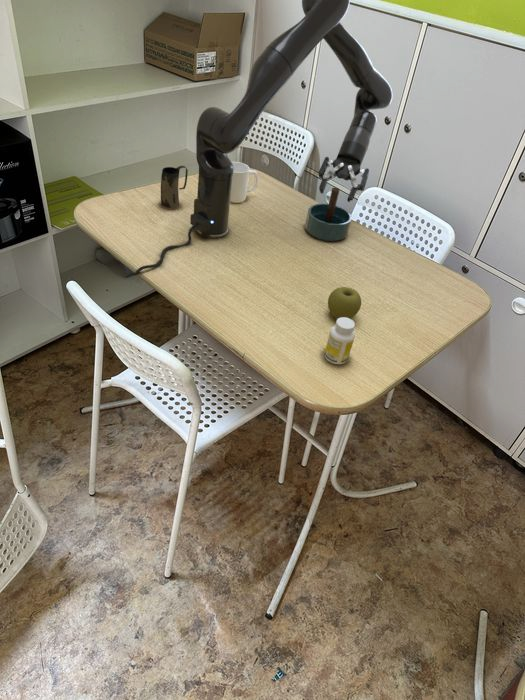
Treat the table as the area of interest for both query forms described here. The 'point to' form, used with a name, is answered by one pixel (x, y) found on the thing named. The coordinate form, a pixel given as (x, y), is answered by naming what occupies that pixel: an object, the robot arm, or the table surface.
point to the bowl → (327, 230)
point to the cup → (241, 182)
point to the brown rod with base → (332, 205)
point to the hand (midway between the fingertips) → (334, 196)
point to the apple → (344, 302)
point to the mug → (171, 187)
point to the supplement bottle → (340, 341)
